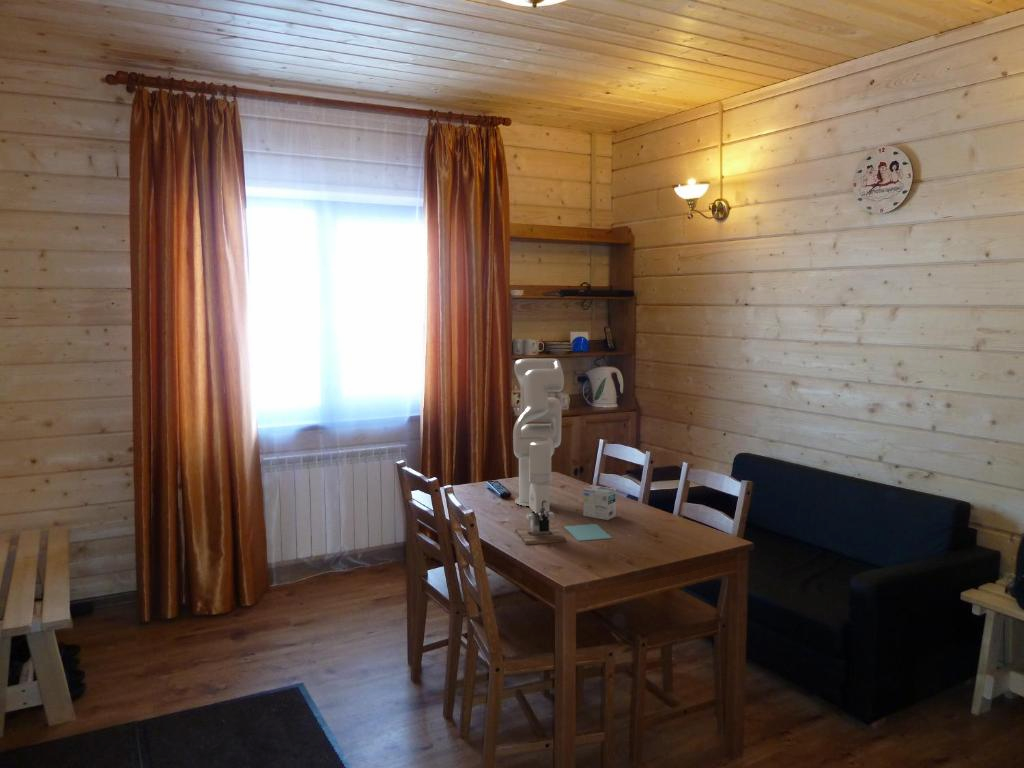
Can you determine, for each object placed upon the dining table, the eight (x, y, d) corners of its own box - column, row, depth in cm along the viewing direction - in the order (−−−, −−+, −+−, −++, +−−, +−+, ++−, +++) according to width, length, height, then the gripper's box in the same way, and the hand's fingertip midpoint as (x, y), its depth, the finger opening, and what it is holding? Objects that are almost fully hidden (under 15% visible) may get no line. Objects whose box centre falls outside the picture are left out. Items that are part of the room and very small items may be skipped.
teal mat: (563, 527, 270) (563, 526, 270) (596, 524, 273) (596, 524, 273) (578, 541, 255) (578, 540, 255) (612, 538, 257) (612, 537, 257)
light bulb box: (616, 516, 284) (617, 488, 282) (608, 520, 278) (608, 491, 277) (591, 512, 290) (591, 484, 288) (582, 516, 284) (582, 487, 283)
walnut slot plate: (515, 532, 265) (515, 528, 265) (553, 528, 268) (553, 525, 268) (525, 544, 252) (525, 541, 251) (565, 541, 255) (565, 537, 255)
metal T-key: (526, 536, 260) (526, 513, 259) (551, 534, 262) (551, 511, 261) (528, 539, 257) (528, 515, 256) (554, 537, 259) (554, 514, 259)
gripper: (523, 472, 265) (523, 520, 267) (536, 484, 248) (536, 535, 250) (543, 471, 267) (543, 519, 269) (558, 483, 250) (558, 533, 252)
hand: (540, 527), depth 260 cm, fingers open, 9 cm apart
